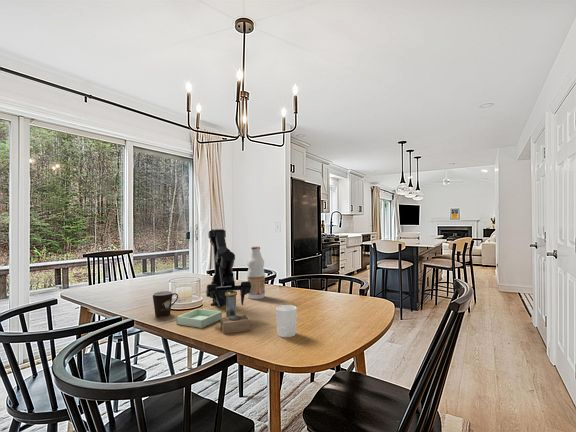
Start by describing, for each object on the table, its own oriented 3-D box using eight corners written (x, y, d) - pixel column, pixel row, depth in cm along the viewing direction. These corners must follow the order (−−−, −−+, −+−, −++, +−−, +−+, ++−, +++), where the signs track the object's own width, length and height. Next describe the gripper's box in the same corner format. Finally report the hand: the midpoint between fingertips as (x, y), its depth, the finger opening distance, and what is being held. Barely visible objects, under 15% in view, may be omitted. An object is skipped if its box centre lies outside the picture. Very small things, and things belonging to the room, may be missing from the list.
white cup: (275, 331, 127) (275, 305, 128) (295, 330, 128) (295, 304, 128) (276, 338, 120) (276, 311, 120) (298, 337, 120) (297, 310, 120)
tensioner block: (220, 327, 132) (220, 315, 132) (245, 324, 136) (245, 313, 136) (223, 333, 125) (223, 320, 126) (249, 330, 129) (249, 317, 129)
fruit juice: (248, 300, 177) (248, 247, 177) (246, 296, 186) (246, 246, 186) (266, 298, 179) (265, 247, 179) (263, 295, 188) (262, 245, 188)
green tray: (176, 323, 138) (176, 316, 138) (197, 315, 150) (197, 308, 150) (201, 327, 132) (201, 320, 132) (221, 318, 144) (221, 311, 144)
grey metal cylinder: (223, 324, 136) (222, 293, 136) (229, 321, 141) (229, 290, 141) (232, 325, 134) (232, 294, 134) (239, 322, 139) (239, 291, 139)
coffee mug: (153, 319, 145) (153, 296, 145) (151, 314, 153) (151, 292, 153) (181, 315, 151) (180, 293, 151) (177, 310, 158) (177, 289, 158)
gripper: (244, 284, 156) (250, 313, 145) (203, 287, 149) (207, 318, 139) (248, 269, 148) (254, 299, 138) (205, 272, 142) (209, 304, 131)
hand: (231, 306), depth 137 cm, fingers open, 9 cm apart
